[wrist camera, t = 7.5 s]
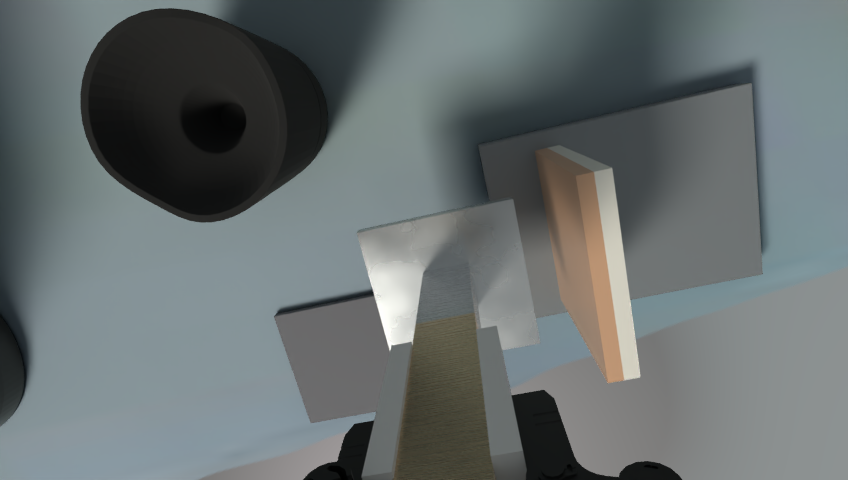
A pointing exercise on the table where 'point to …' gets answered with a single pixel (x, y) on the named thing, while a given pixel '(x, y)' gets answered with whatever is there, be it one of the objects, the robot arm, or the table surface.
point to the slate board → (649, 191)
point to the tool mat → (336, 356)
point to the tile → (590, 256)
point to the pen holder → (199, 113)
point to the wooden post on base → (449, 326)
